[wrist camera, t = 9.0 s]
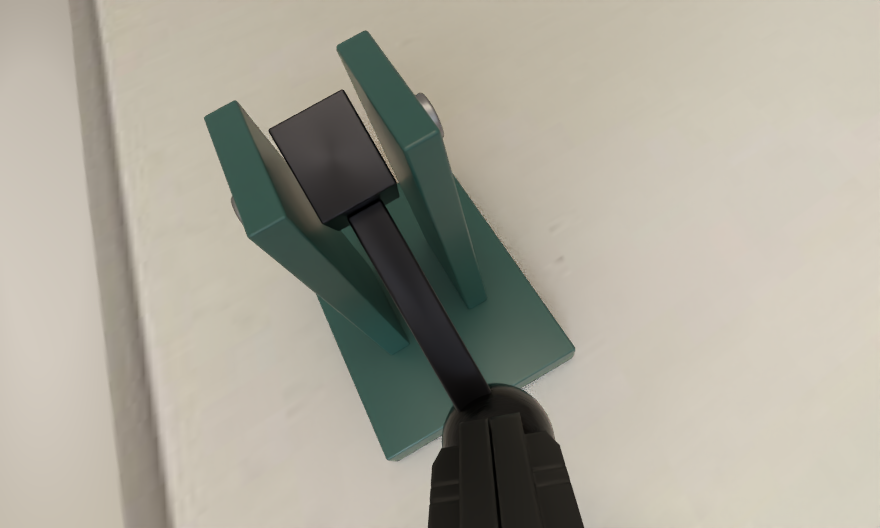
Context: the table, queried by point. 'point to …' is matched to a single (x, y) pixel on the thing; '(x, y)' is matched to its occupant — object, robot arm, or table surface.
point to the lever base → (429, 238)
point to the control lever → (391, 253)
